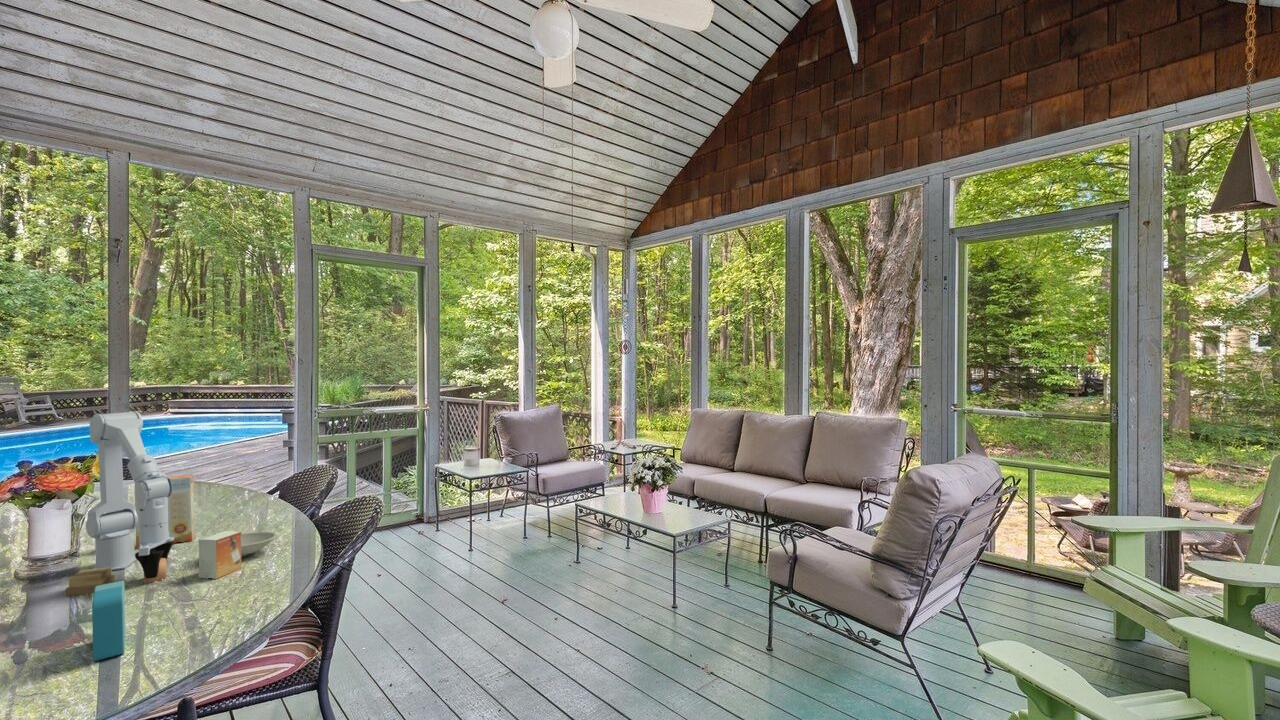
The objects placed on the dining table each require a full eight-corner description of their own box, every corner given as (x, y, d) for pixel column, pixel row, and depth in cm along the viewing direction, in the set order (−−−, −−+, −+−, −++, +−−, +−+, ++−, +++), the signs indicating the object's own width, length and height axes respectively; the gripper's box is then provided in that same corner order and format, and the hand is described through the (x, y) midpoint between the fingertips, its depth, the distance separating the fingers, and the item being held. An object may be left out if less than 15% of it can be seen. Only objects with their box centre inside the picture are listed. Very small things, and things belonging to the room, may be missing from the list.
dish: (278, 544, 182) (278, 528, 182) (276, 557, 169) (276, 540, 169) (209, 554, 173) (208, 538, 173) (202, 569, 160) (201, 551, 160)
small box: (215, 579, 153) (215, 540, 153) (198, 578, 154) (197, 539, 154) (242, 568, 161) (241, 531, 161) (225, 567, 162) (224, 530, 162)
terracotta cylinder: (148, 578, 155) (147, 559, 155) (169, 575, 156) (169, 556, 156) (141, 584, 150) (140, 565, 150) (162, 581, 152) (162, 562, 152)
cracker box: (195, 536, 190) (193, 473, 190) (192, 541, 185) (191, 476, 185) (139, 544, 183) (138, 478, 183) (135, 549, 178) (134, 482, 178)
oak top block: (81, 579, 149) (81, 570, 149) (111, 576, 151) (111, 567, 151) (69, 587, 143) (69, 578, 143) (99, 584, 146) (99, 574, 146)
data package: (96, 641, 120) (95, 584, 120) (125, 634, 123) (124, 578, 123) (93, 664, 111) (91, 602, 111) (124, 656, 114) (123, 595, 114)
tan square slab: (80, 588, 150) (80, 579, 149) (114, 583, 152) (114, 574, 152) (65, 598, 143) (65, 588, 143) (101, 593, 146) (101, 584, 146)
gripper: (162, 528, 148) (163, 581, 148) (182, 514, 162) (183, 563, 162) (127, 532, 145) (128, 586, 146) (151, 517, 159) (152, 566, 159)
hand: (155, 574), depth 153 cm, fingers closed on terracotta cylinder, 5 cm apart
